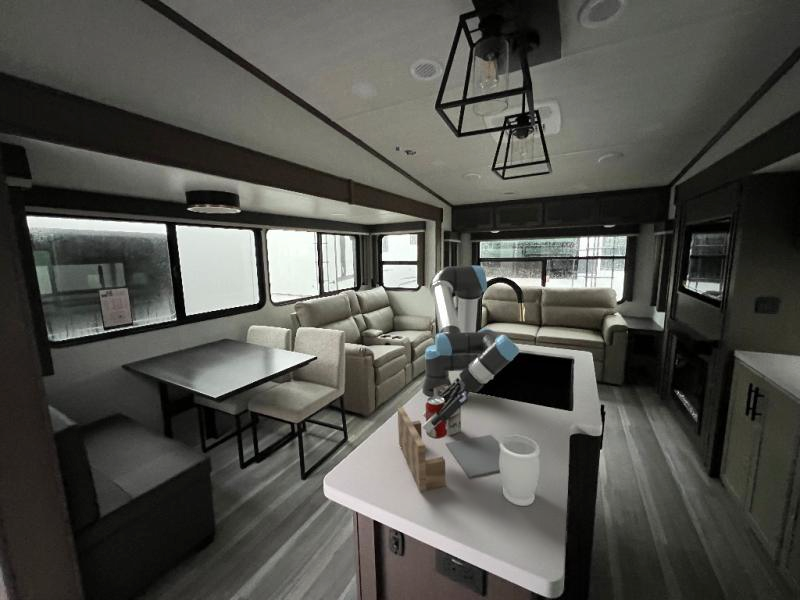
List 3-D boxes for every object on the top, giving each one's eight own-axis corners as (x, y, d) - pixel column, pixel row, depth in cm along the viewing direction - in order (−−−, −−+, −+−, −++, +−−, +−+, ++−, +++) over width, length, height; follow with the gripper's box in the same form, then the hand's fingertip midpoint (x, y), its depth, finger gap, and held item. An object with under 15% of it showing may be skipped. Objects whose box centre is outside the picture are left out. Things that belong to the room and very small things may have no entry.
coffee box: (461, 431, 119) (461, 391, 117) (448, 436, 116) (448, 395, 114) (446, 421, 127) (445, 383, 125) (434, 425, 124) (433, 387, 122)
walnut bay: (399, 444, 112) (397, 408, 110) (420, 441, 114) (419, 404, 112) (419, 492, 89) (418, 446, 87) (445, 486, 90) (444, 441, 89)
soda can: (433, 442, 97) (432, 406, 95) (422, 432, 103) (421, 398, 101) (451, 436, 100) (450, 401, 98) (439, 426, 106) (438, 393, 104)
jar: (535, 515, 79) (536, 461, 77) (494, 500, 84) (494, 449, 83) (541, 489, 88) (542, 440, 86) (504, 477, 93) (504, 430, 92)
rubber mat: (445, 444, 111) (445, 443, 111) (490, 436, 115) (490, 434, 115) (469, 478, 93) (469, 476, 93) (521, 466, 98) (521, 464, 98)
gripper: (490, 397, 88) (434, 449, 92) (479, 372, 107) (433, 415, 111) (471, 379, 87) (415, 432, 91) (464, 357, 107) (418, 401, 111)
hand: (425, 422), depth 101 cm, fingers closed on soda can, 7 cm apart
